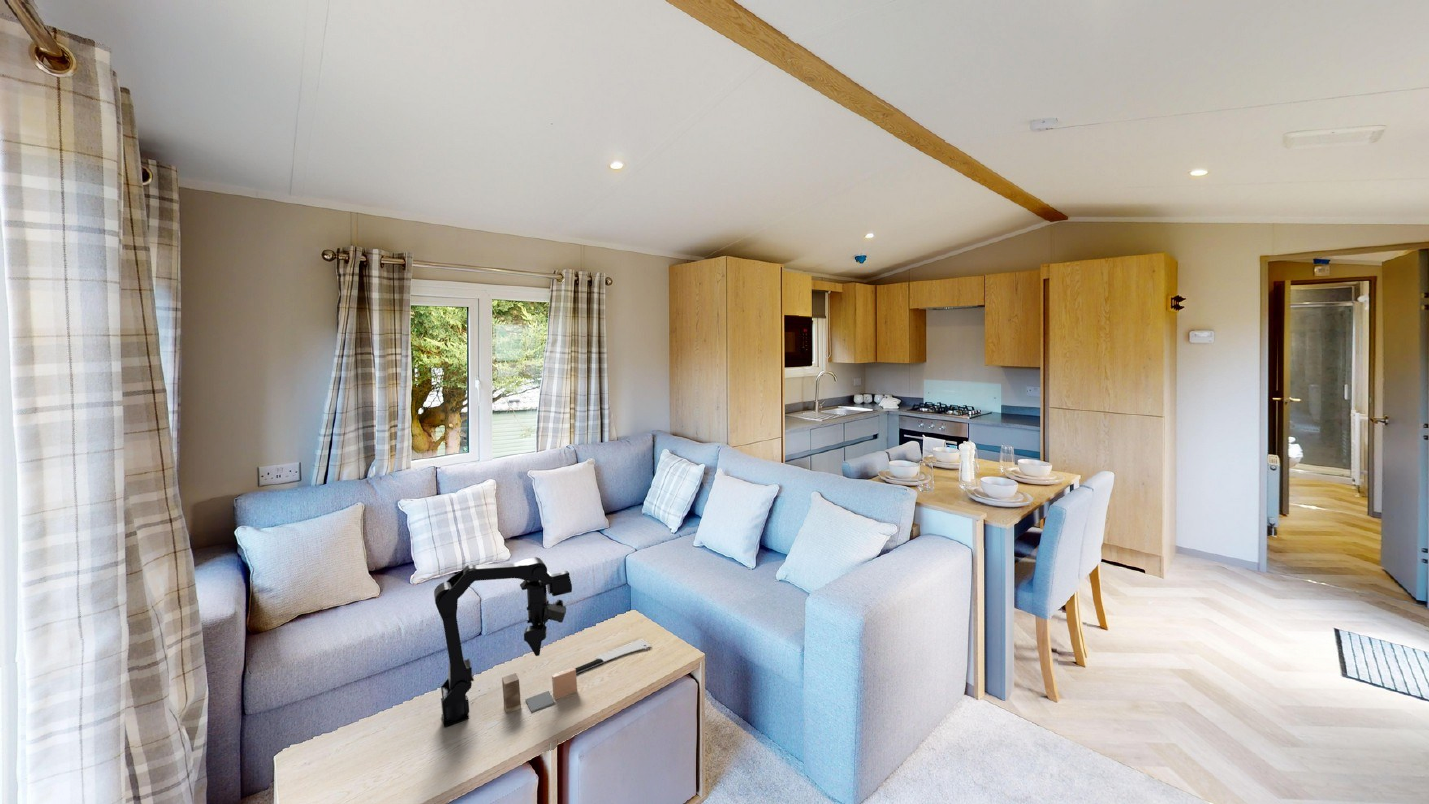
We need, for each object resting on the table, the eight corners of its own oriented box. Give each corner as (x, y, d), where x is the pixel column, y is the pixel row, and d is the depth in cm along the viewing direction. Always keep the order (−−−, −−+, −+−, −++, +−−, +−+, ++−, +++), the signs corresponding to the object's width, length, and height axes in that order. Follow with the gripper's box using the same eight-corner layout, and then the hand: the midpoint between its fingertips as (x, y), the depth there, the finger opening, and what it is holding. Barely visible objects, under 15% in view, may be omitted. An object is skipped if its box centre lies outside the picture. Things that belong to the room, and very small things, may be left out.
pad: (531, 712, 158) (531, 711, 158) (525, 700, 164) (525, 699, 164) (555, 703, 162) (555, 702, 162) (548, 691, 168) (548, 690, 168)
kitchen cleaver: (639, 634, 200) (652, 643, 191) (639, 639, 200) (652, 647, 191) (556, 665, 182) (567, 676, 173) (557, 671, 182) (567, 681, 173)
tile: (554, 699, 164) (553, 677, 164) (553, 696, 166) (551, 675, 165) (577, 691, 168) (575, 669, 167) (575, 688, 169) (574, 667, 169)
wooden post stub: (506, 713, 159) (504, 684, 158) (503, 706, 162) (501, 677, 161) (521, 708, 161) (519, 679, 160) (518, 701, 164) (516, 672, 163)
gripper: (562, 610, 160) (564, 660, 161) (565, 584, 178) (567, 630, 179) (522, 614, 158) (524, 665, 159) (530, 588, 176) (532, 634, 177)
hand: (539, 647), depth 169 cm, fingers open, 9 cm apart
